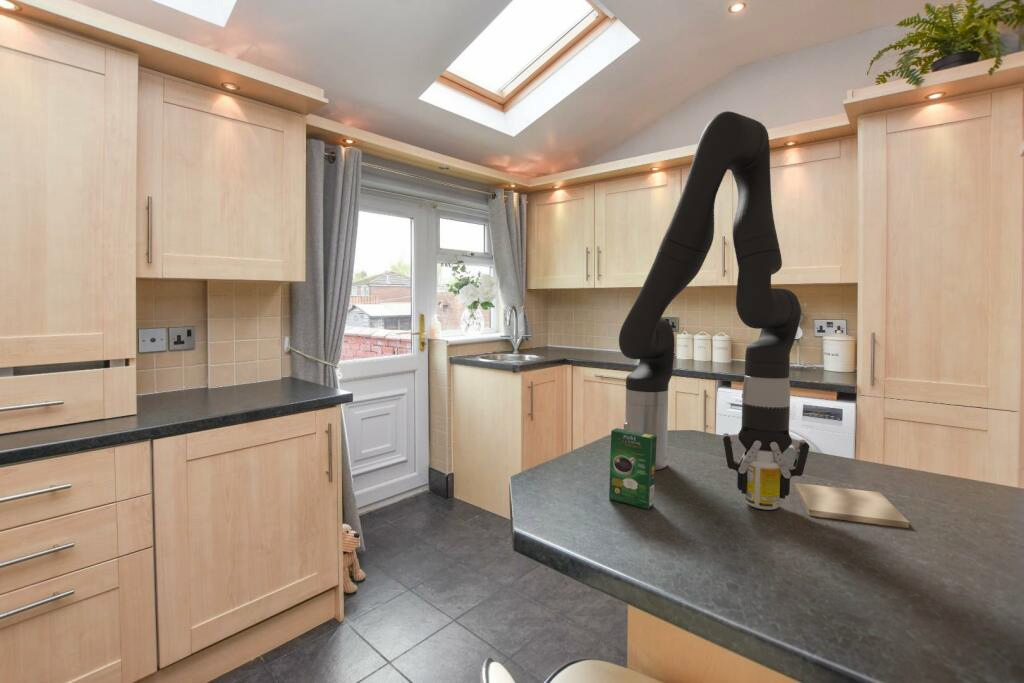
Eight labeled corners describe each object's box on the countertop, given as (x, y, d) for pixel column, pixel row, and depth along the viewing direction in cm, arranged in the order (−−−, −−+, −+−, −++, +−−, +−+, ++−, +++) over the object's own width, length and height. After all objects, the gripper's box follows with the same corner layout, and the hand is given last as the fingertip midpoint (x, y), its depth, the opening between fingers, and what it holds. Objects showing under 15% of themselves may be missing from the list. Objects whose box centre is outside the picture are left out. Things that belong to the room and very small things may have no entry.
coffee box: (656, 505, 89) (658, 433, 88) (650, 511, 87) (651, 436, 86) (615, 495, 94) (616, 427, 93) (608, 500, 92) (609, 429, 91)
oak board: (809, 515, 85) (809, 509, 85) (794, 487, 98) (794, 482, 98) (908, 528, 80) (909, 522, 80) (879, 497, 93) (879, 492, 93)
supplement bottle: (785, 505, 89) (787, 449, 88) (771, 513, 85) (773, 455, 85) (753, 496, 93) (755, 442, 93) (739, 504, 90) (740, 448, 89)
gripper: (722, 402, 87) (719, 496, 88) (817, 408, 82) (813, 508, 83) (720, 395, 94) (718, 483, 95) (807, 400, 89) (804, 492, 90)
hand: (762, 494), depth 89 cm, fingers closed on supplement bottle, 5 cm apart
